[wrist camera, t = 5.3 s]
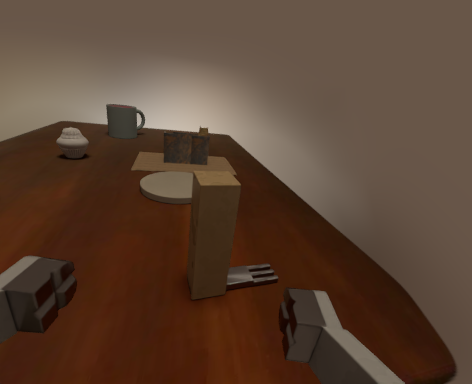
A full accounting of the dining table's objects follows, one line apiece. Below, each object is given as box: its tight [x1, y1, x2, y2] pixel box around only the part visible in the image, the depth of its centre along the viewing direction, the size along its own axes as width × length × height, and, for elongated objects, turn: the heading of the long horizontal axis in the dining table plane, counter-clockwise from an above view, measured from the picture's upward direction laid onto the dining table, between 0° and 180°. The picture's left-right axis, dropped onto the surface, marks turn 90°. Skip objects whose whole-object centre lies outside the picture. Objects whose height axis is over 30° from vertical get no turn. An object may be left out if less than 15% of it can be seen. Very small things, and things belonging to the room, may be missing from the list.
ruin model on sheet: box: [131, 127, 237, 175], centre depth 62 cm, size 25×16×10 cm, turn 104°
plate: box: [140, 172, 193, 204], centre depth 47 cm, size 14×14×1 cm
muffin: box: [57, 127, 89, 158], centre depth 55 cm, size 6×6×7 cm
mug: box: [106, 104, 145, 139], centre depth 84 cm, size 14×9×10 cm
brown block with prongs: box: [187, 171, 278, 300], centre depth 23 cm, size 10×3×12 cm, turn 109°
